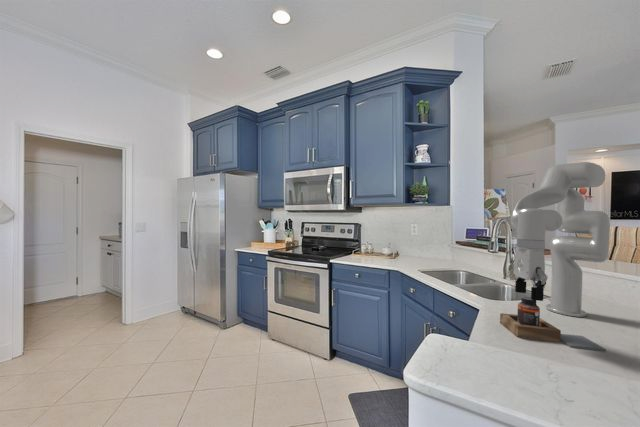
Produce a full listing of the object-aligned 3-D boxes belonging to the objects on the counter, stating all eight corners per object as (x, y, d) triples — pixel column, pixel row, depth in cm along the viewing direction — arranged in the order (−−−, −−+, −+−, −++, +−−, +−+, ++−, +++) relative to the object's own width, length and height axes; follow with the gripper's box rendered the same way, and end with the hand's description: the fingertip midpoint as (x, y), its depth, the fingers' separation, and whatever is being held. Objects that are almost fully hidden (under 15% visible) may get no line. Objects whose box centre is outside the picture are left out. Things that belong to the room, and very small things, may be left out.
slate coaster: (550, 334, 90) (550, 332, 90) (582, 337, 88) (582, 335, 88) (570, 347, 81) (570, 345, 81) (605, 351, 80) (605, 349, 80)
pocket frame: (499, 322, 99) (500, 313, 99) (537, 326, 97) (537, 316, 97) (517, 337, 87) (517, 326, 87) (560, 341, 85) (560, 330, 85)
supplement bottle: (543, 336, 88) (544, 301, 88) (522, 334, 90) (523, 299, 90) (532, 329, 94) (533, 296, 94) (513, 327, 95) (514, 294, 95)
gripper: (505, 242, 101) (503, 288, 101) (532, 246, 84) (530, 302, 84) (528, 244, 100) (526, 291, 99) (560, 248, 83) (558, 305, 82)
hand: (528, 296), depth 92 cm, fingers open, 9 cm apart
